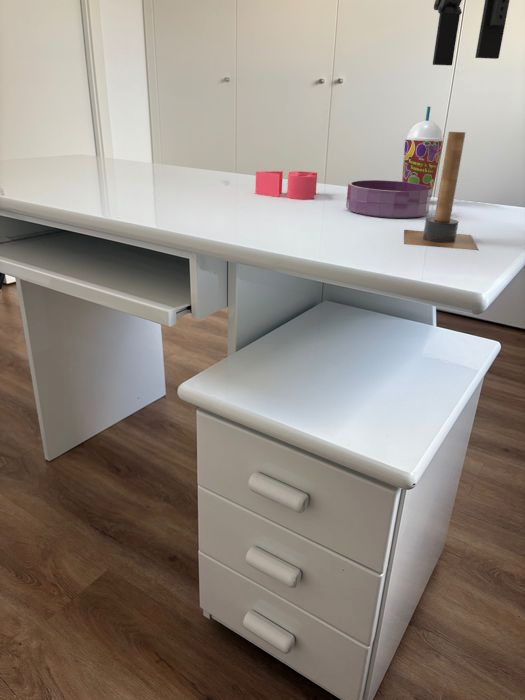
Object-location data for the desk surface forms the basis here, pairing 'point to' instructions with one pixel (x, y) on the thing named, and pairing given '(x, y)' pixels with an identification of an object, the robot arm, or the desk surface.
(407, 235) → the cork mat
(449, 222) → the brush
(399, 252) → the desk surface
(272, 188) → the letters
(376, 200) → the bowl
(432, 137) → the smoothie
